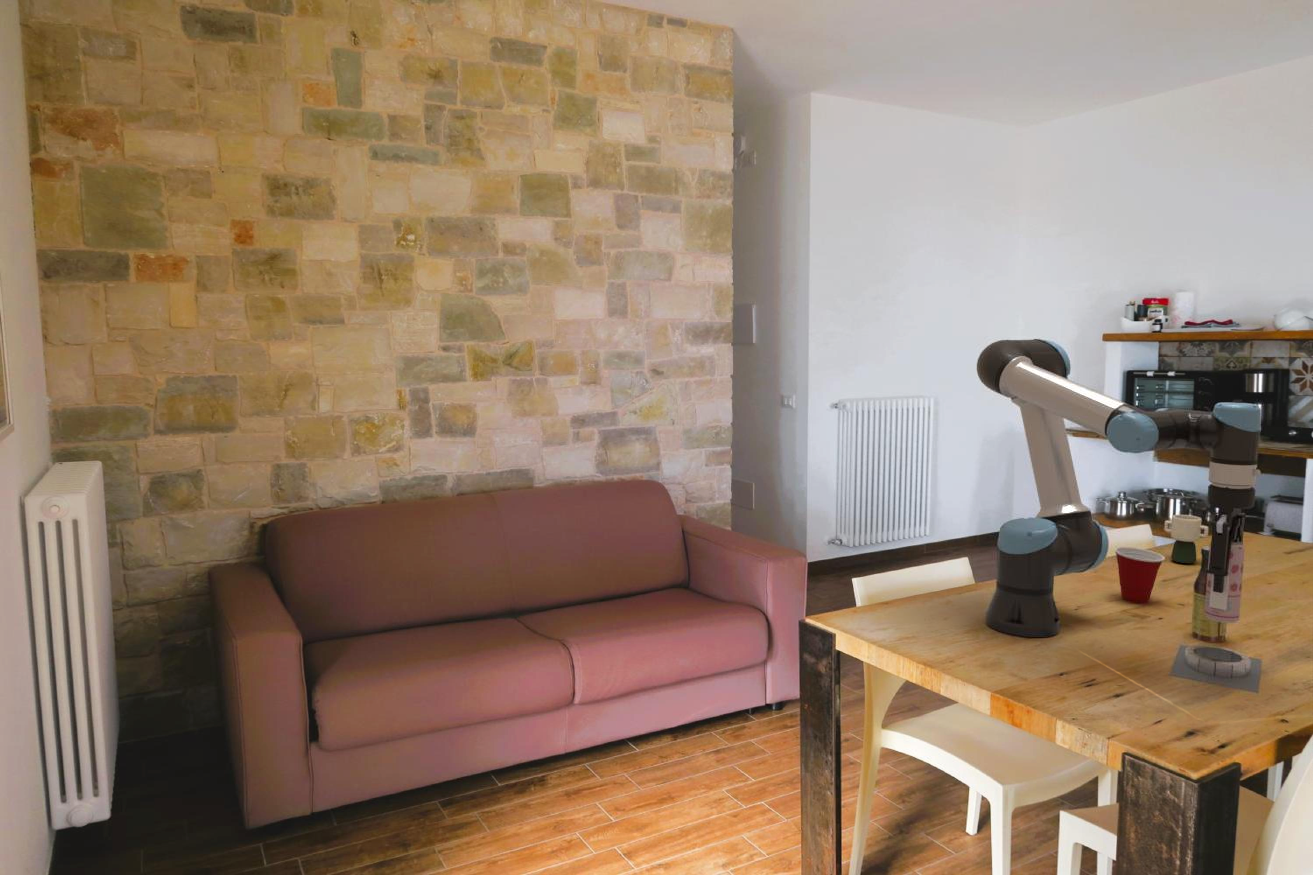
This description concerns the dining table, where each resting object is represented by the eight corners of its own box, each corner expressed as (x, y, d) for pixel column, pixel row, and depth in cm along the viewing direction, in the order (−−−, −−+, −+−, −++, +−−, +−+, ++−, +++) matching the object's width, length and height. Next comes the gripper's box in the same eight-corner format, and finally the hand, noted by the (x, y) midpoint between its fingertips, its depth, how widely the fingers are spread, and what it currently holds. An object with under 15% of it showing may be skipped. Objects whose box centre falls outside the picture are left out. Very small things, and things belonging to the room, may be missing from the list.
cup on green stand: (1209, 563, 249) (1212, 518, 248) (1201, 568, 245) (1205, 522, 243) (1166, 556, 257) (1169, 512, 256) (1157, 561, 252) (1161, 515, 251)
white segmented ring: (1213, 679, 167) (1214, 666, 167) (1172, 658, 177) (1173, 646, 177) (1262, 675, 169) (1263, 662, 168) (1219, 655, 179) (1220, 643, 178)
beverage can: (1200, 618, 172) (1206, 541, 170) (1208, 611, 175) (1214, 537, 174) (1234, 625, 167) (1240, 547, 166) (1242, 618, 171) (1248, 541, 170)
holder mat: (1257, 695, 161) (1258, 692, 161) (1168, 677, 169) (1169, 674, 169) (1261, 661, 177) (1261, 659, 177) (1180, 646, 185) (1180, 644, 185)
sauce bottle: (1212, 634, 193) (1220, 544, 190) (1232, 644, 186) (1240, 551, 184) (1182, 634, 192) (1190, 544, 190) (1201, 644, 186) (1209, 551, 184)
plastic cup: (1157, 610, 209) (1161, 560, 207) (1107, 601, 215) (1110, 552, 214) (1165, 598, 217) (1168, 550, 216) (1115, 590, 224) (1119, 544, 222)
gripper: (1242, 493, 159) (1232, 619, 162) (1267, 481, 172) (1257, 598, 175) (1194, 488, 165) (1185, 610, 167) (1222, 476, 177) (1213, 590, 180)
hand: (1222, 604), depth 171 cm, fingers closed on beverage can, 6 cm apart
